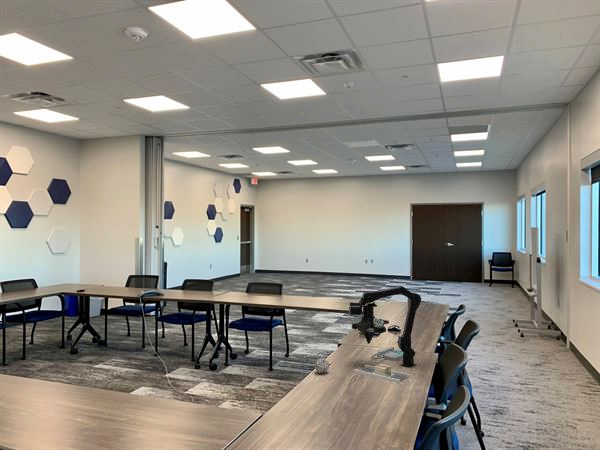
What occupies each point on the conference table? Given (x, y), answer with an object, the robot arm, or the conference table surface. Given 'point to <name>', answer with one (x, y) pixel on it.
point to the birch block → (383, 370)
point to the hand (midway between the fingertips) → (368, 343)
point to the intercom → (389, 354)
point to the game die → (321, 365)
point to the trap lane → (394, 376)
